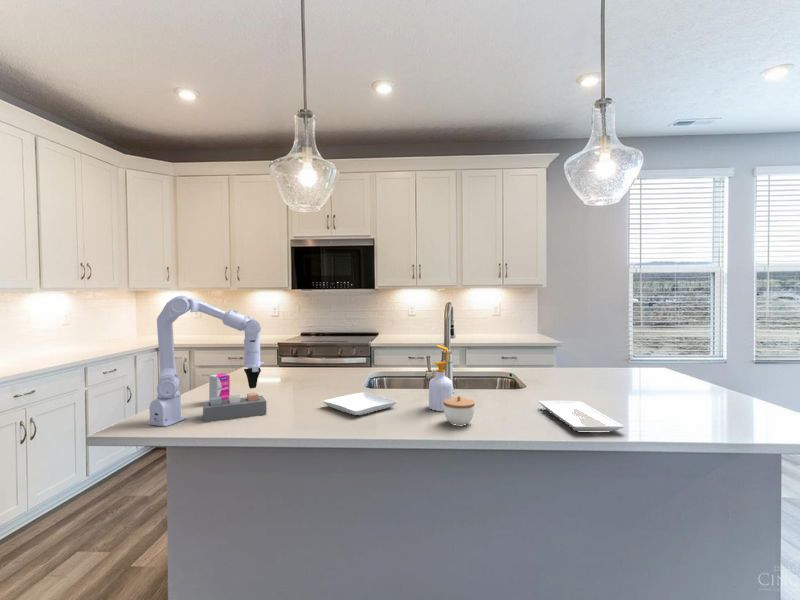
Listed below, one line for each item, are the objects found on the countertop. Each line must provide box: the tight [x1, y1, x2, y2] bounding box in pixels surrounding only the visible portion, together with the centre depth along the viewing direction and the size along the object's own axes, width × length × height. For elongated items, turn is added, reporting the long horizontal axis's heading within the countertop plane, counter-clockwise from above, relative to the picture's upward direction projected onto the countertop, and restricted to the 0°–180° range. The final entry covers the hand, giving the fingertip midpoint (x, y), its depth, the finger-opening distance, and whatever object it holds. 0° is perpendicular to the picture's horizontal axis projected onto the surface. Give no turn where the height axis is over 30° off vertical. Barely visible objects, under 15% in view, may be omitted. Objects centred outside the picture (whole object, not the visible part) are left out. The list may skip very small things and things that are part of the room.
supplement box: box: [208, 373, 231, 402], centre depth 176 cm, size 6×6×12 cm
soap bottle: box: [428, 344, 453, 412], centre depth 168 cm, size 9×9×25 cm
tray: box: [538, 400, 625, 432], centre depth 153 cm, size 17×32×4 cm, turn 3°
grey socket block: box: [202, 395, 267, 423], centre depth 159 cm, size 21×9×5 cm, turn 117°
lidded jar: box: [443, 395, 476, 425], centre depth 150 cm, size 11×11×9 cm
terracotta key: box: [246, 392, 260, 402], centre depth 162 cm, size 4×4×4 cm
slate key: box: [210, 397, 222, 406], centre depth 157 cm, size 4×4×4 cm
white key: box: [229, 394, 241, 404], centre depth 159 cm, size 4×4×4 cm
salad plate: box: [323, 391, 398, 416], centre depth 169 cm, size 21×21×3 cm
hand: (252, 387), depth 162 cm, fingers closed
